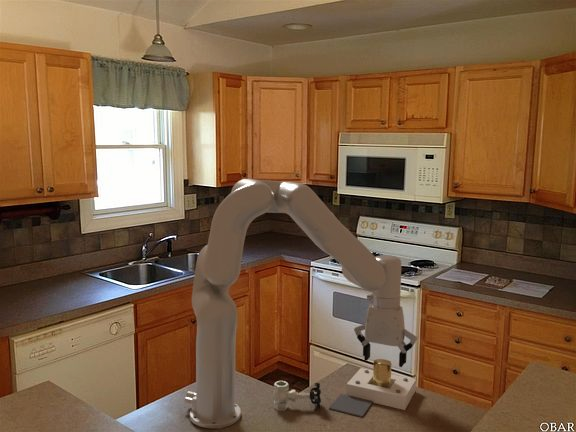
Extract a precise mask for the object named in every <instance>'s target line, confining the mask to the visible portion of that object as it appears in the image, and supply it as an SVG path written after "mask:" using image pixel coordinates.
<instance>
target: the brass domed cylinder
mask: <svg viewBox="0 0 576 432" xmlns="http://www.w3.org/2000/svg"><path fill="white" fill-rule="evenodd" d="M372 370H373V385H375V386H380V387H384V388H389V389H390V384H391V374H392V362H391V361H390V360H387V359H384V358H378V359H377V358H376V359H374V360H373V368H372Z"/></svg>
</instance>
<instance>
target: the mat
mask: <svg viewBox="0 0 576 432" xmlns="http://www.w3.org/2000/svg"><path fill="white" fill-rule="evenodd" d="M373 404H374V403H373V401H371V400H367V399H362V398H358V397H354V396H350V395H346V393H345V394H344V393H340V394H339V395H338V396H337V397H336V399H334V401H333V402H332V404H330V406H329V407H328V409H329V410H331V411H335V412H339V413H343V414H347V415H351V416H354V417H358V418H363V417H365V414H366V413H367V411H368V410H369V408H370V407H372V405H373Z"/></svg>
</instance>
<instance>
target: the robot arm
mask: <svg viewBox="0 0 576 432" xmlns="http://www.w3.org/2000/svg"><path fill="white" fill-rule="evenodd" d="M214 211H215V212H214V215H213V217H212V220H211V225H210V232H209V235H208V240H207V241H208V242H207V244H206V245H205V246H203V247H202V248H201V250H200V251H199V253H198V256H197V258H196V259H197V260H196V264H195V270H194V278H193V283H192V293H191V307H192V310H193V312H194V315H195V317H196V338H195V340H196V341H195V359H196V360H195V365H196V367H195V370H196V371H195V391H191V390H188V391H187V392H186V395H185V397H184V403H186V404H191V405H192V407H191V409H190V410H189V419H190V422H191V423H193V424H194V425H196V426H198V427H201V428H204V429H222V428H226V427H229V426H232V425H234V424H235V423H236V422H238V421H239V420H240V418H241V415H242V410H241V407H240V406H239V404H237V403H236V402H235V399H236V395H235V394H236V341H237V340H236V339H237V338H236V337H237V329H238V321H239V320H238V319H239V317H238V316H239V315H238V314H239V313H238V308H237V305H236V303H235V301H234V299H233V298H232V296H231V295H230V294H229V292H230V286H232V285H234V283H235V282H237V280H238V278H239V276H240V274H241V269H242V260H243V251H244V244H245V240H246V234H247V231H248V228H249V226H250V224H252V222H253V221H254V220H255V219H256V218H257V217H260V216H262V215H264V214H266V213H269V214H270V213H272V214H275V213H276V214H278V213H279V214H286V215H288V216H289V217H290V218H291V219H292V220H293V221H294V223H296V225H297V226H298V227H299V228H300V229H301V230H302V232H304V233H305V234H306V235H307V237H308V238H309V239H310V240H311V242H313V244H314V245H315V246H317V247H318V248H319V249H320V250H321V251H323V252H324V253H326V254H327V255H329V256H330V257H331V258H333V259H334V260H335V261H336V262H338V263H339V264H340V265H341V272H342V275H343V276H344V278H345V279H346V280H347V281H348V282H350V283H352V284H353V285H356V286H357V287H359V288H361V289H362V290H365V291H368V292H371V294H367V295H366V300H368V301H370V304H369V305H368V307H367V311H366V317H365V323H363V324H361V325H358V326H356V327H355V328H354V329H353V330H354V333H355V335H356V338H357V339H358V341H359V342H360V343H361V346H362V348H363V349H362V356H363V357H364V358H363V359H364V361H368V360H369V359H370V358H371V344H370V343H373V344H379V345H385V346H390V347H397V348H398V349H399V351H400V352H399V354H398V359H399V360H398V366H399V368H403V366H404V365H406V364H407V354H408V351H409V350H411V349H412V348H413V347H414V345H415V343H416V342H417V340H418V336H416V335H415V334H413V333H412V332H411V331H409V330H407V329H406V328H405V326H406V325H405V315H404V310H403V307H402V305H401V290H402V289H401V287H402V283H401V282H402V281H401V280H402V260H401V259H400V257H398V256H395V255H392V254H391V255H389V254H381V255H377V256H374V254H373V253H372V252H371V250H369V249H368V247H367V246H366V245H364V243H362V241H360V240H359V239H358V238H357V237H356V236H355V235H354V234H353V233H352V232H351V231H350V230H349V229H348V228H347V227H346V226H344V224H342V223H341V221H340V220H339V219H338V217H336V216H335V215H334V213H333V212H332V211H331V210H330V208H328V206H327V205H326V204H325V202H323V201H322V199H321V198H320V197H319V195H317V193H315V191H314V190H313V189H312V188H311V187H309V185H306V184H304V183H300V182H297V181H296V182H295V181H279V180H267V179H265V180H264V179H255V178H243V179H240V180H238V181H237V182H236V183H235V184H234V185H233V186H232V189H231V192H230V193H229V194H228V195H227V196H226V197H225V198H224V199H223V200H222V201H221V203H220V204H218V207H217V208H216V210H214ZM362 331H364V334H363V333H362ZM405 337H406V338H407V339H408V340H410V341H409V342H408V343H406V342H405V341H404V340H405Z"/></svg>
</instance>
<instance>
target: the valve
mask: <svg viewBox="0 0 576 432" xmlns="http://www.w3.org/2000/svg"><path fill="white" fill-rule="evenodd" d="M320 384H321V383H320V382H314V387H312V388H311V389H310V391H309V392H308V393H306V391H300V392H298V391H296V389H290V388H289V387H290V384H289V383H288V382H287V381H285V380H278V381H275V382H274V384H273V393H272V399H273V409H274V410H276V411H278V412H283V411H287V409H288V408H289V402H291V403H295V402H296V400H298V399H300V400H306V399H309V400H310V401H311V403H312V404H313V405H314V407H315V409H317V410H318V409H319V410H320V409H321V403H322V398H321V393H322V392H321V389H320V388H321V385H320ZM289 389H290V390H289Z"/></svg>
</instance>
